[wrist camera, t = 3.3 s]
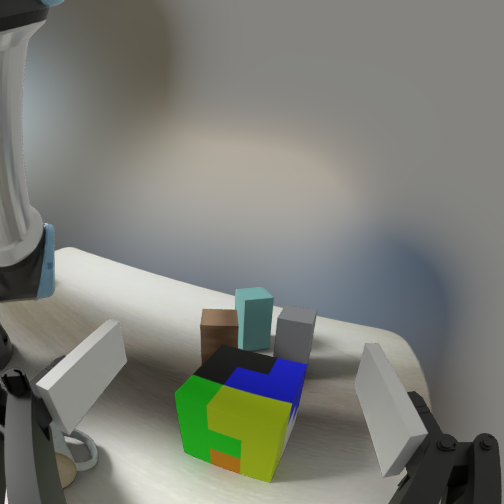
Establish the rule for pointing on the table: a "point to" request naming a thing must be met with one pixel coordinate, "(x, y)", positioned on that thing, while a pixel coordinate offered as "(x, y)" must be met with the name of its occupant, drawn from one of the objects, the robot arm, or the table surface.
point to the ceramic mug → (65, 458)
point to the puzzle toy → (240, 410)
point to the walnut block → (218, 331)
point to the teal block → (254, 318)
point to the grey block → (294, 334)
